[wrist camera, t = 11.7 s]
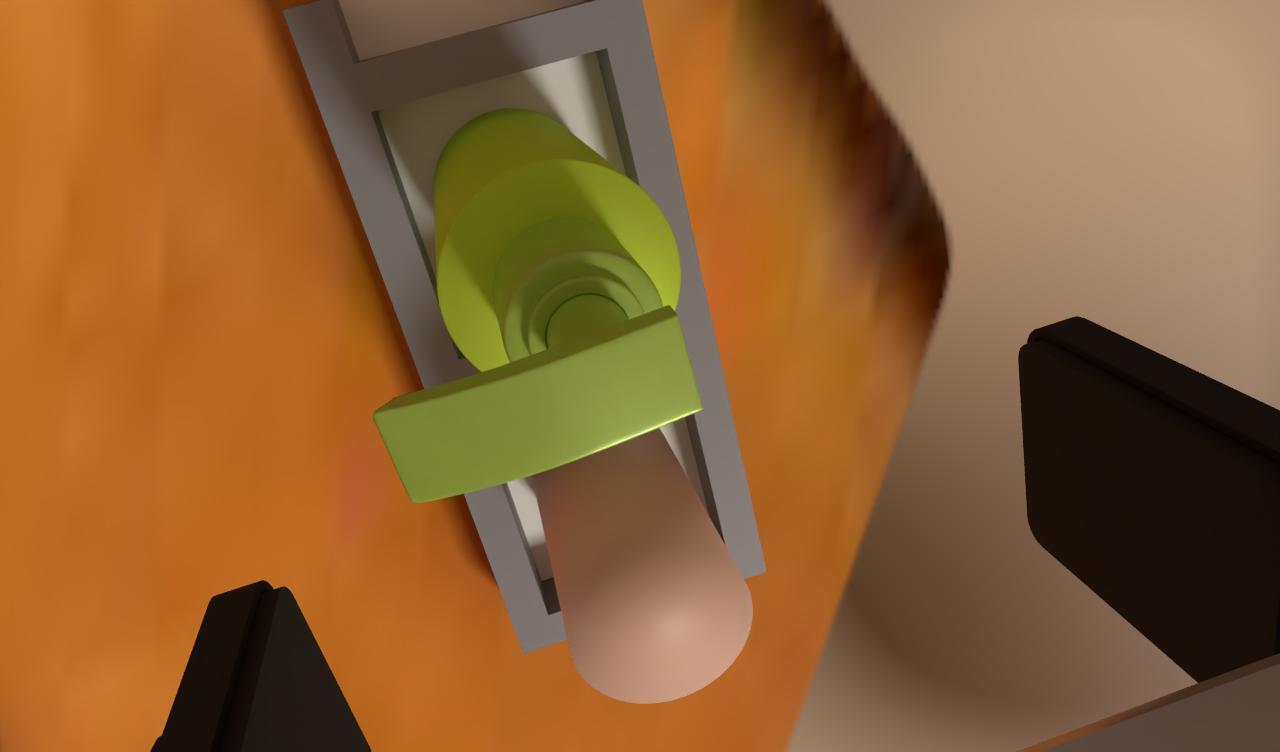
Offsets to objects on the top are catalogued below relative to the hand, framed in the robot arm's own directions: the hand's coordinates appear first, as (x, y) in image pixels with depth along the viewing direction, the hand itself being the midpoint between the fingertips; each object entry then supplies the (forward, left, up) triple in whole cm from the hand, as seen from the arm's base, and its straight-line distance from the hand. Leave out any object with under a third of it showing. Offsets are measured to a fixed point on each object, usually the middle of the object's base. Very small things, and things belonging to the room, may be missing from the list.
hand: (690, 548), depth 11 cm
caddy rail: (+5, 0, -26) cm, 26 cm away
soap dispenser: (0, -1, -25) cm, 25 cm away
